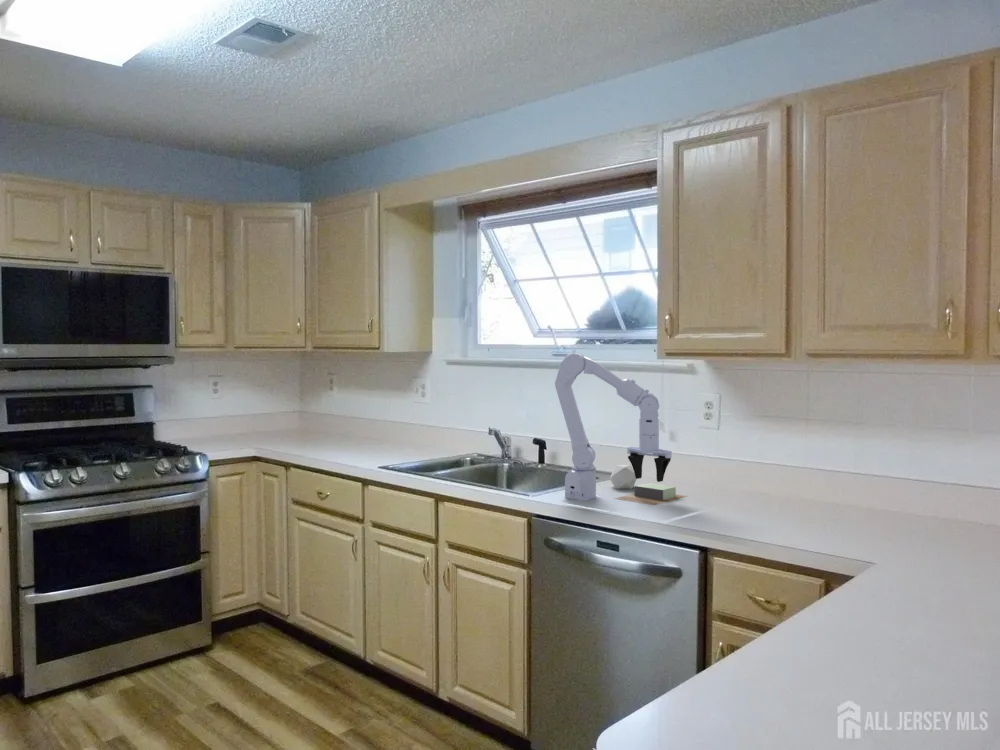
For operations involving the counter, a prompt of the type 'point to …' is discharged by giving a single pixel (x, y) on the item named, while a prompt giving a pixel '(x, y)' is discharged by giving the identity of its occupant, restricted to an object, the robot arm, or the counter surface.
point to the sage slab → (655, 491)
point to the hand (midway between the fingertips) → (649, 479)
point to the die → (623, 477)
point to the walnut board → (647, 499)
